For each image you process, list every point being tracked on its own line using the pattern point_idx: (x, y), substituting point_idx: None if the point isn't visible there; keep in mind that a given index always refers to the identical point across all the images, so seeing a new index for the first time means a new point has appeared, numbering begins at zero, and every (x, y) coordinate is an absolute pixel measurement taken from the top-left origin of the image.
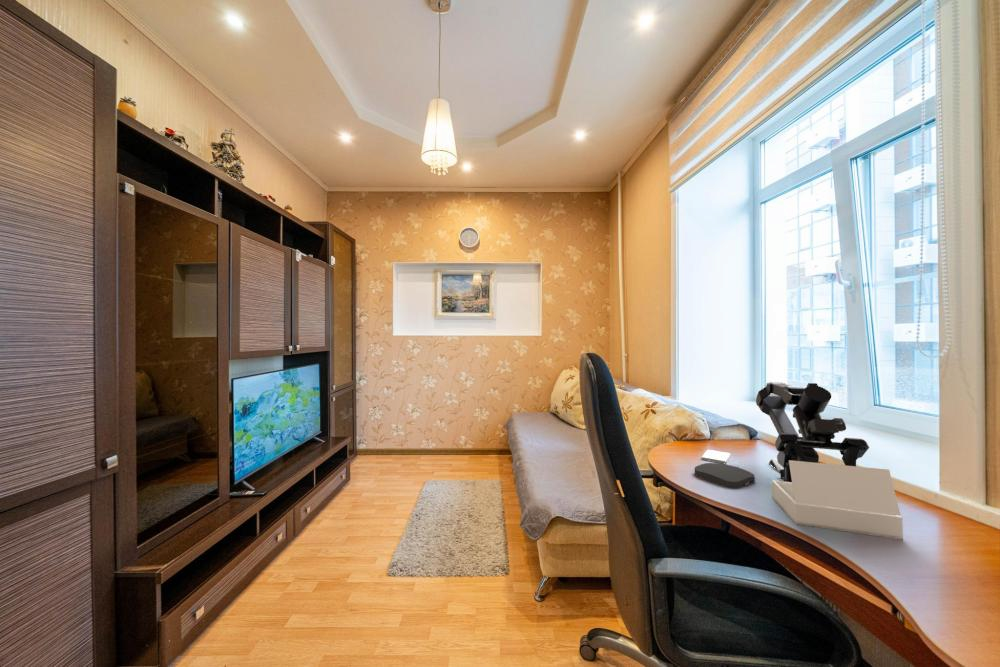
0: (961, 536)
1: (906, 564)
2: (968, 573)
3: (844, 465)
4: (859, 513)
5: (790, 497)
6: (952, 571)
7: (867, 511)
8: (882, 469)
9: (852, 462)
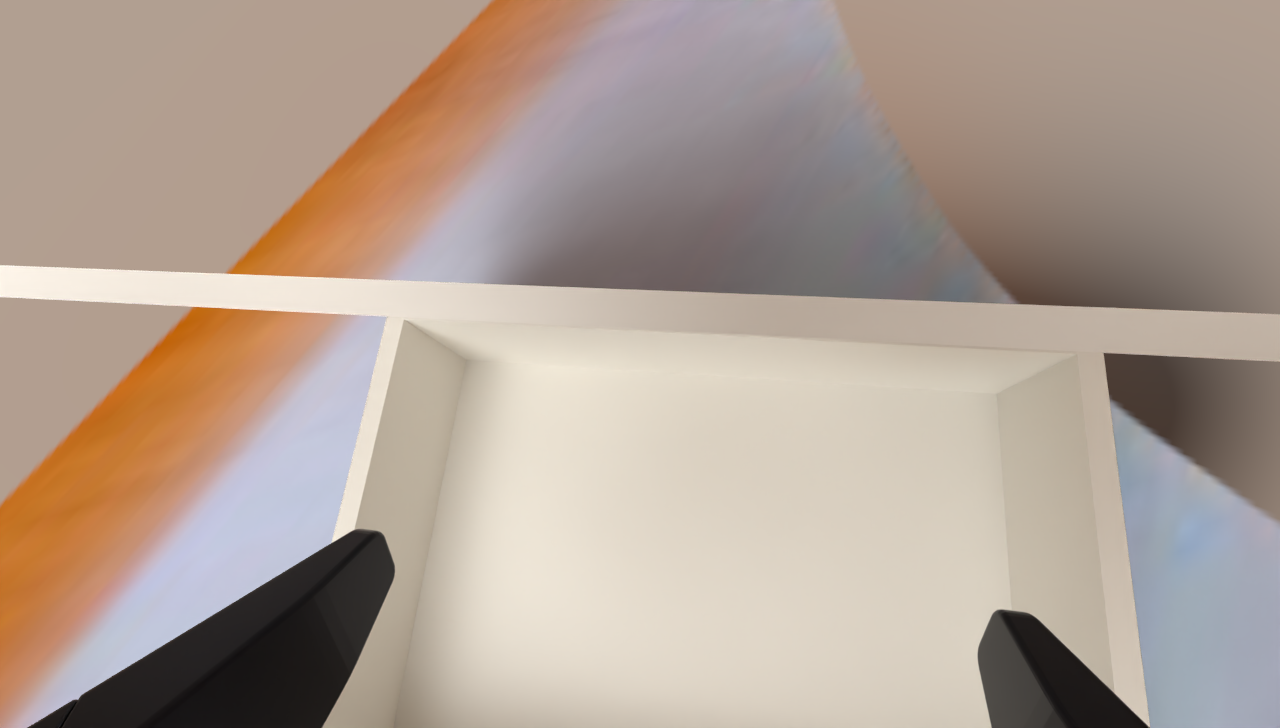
0: (126, 481)
1: (630, 107)
2: (434, 120)
3: (517, 290)
4: None
5: (1102, 490)
6: (483, 114)
7: (395, 689)
8: (2, 270)
9: (109, 725)
